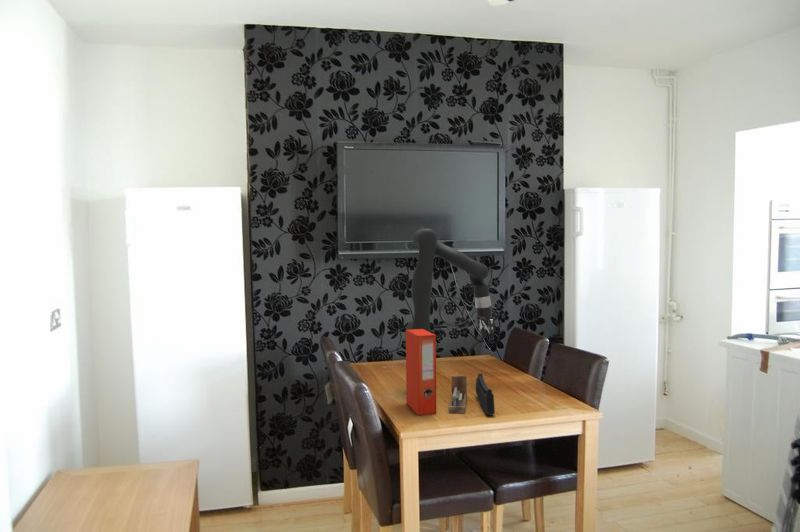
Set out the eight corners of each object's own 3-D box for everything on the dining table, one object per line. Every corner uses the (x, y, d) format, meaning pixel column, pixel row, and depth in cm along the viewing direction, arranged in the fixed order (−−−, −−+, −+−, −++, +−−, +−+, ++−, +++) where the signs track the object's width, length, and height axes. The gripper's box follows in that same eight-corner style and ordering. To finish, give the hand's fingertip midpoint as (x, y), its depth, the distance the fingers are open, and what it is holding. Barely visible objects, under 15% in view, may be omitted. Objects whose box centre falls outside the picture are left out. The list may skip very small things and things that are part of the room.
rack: (448, 413, 230) (448, 388, 229) (452, 398, 252) (451, 375, 251) (465, 413, 229) (464, 388, 228) (466, 398, 251) (466, 375, 250)
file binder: (424, 402, 246) (423, 328, 245) (437, 413, 229) (435, 334, 228) (406, 404, 244) (405, 329, 243) (417, 415, 227) (416, 336, 226)
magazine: (495, 396, 221) (483, 358, 249) (487, 396, 220) (476, 359, 249) (494, 433, 226) (482, 393, 254) (485, 433, 226) (475, 393, 254)
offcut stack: (453, 410, 234) (452, 396, 233) (455, 401, 247) (454, 387, 247) (461, 410, 233) (461, 396, 233) (462, 401, 247) (462, 387, 247)
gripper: (469, 305, 276) (474, 338, 277) (482, 308, 262) (487, 343, 264) (483, 302, 278) (488, 335, 280) (497, 305, 265) (502, 339, 266)
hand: (487, 338), depth 272 cm, fingers open, 8 cm apart
